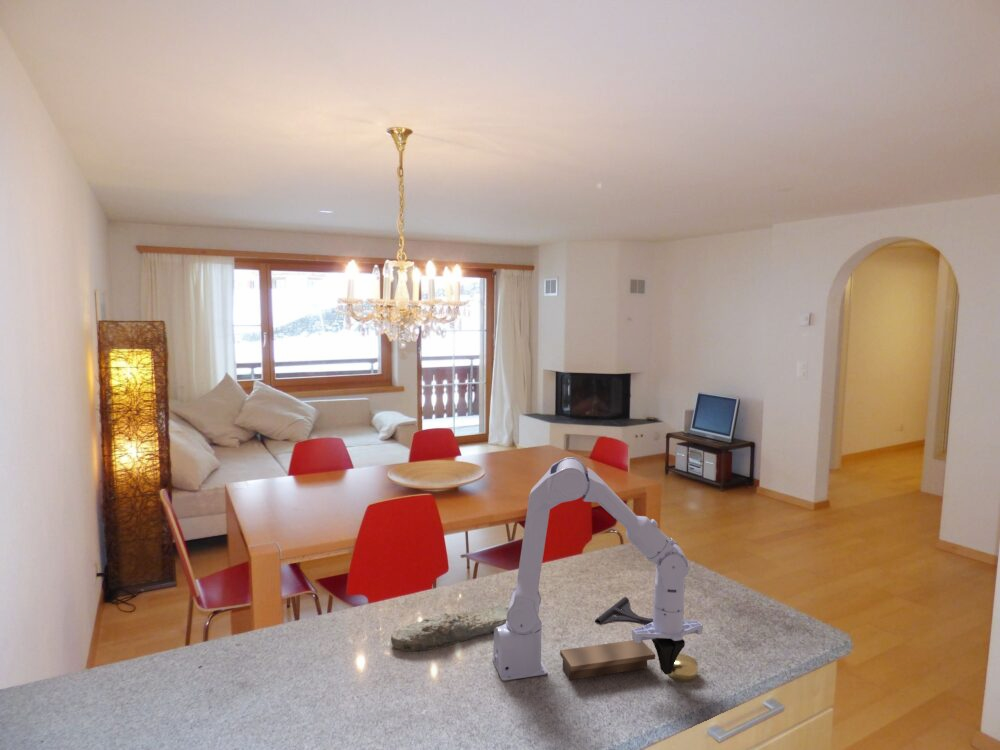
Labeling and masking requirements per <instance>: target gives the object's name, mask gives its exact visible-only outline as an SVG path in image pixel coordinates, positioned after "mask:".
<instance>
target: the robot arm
mask: <svg viewBox="0 0 1000 750" xmlns="http://www.w3.org/2000/svg"><path fill="white" fill-rule="evenodd" d="M580 498H582V501H583V502H587V503H588V502H589V503H592V502H593V503H597V504H599V506H601V508H603V509H604V510H605V511H606V512H607V513H608V514H609V515H611V516H612V517H613V518H614V519H615V520H616V521H618V522H619V524H620V525H622V526H623V527H624V528H625V538H626V539H627V540H628V541H629V542H630V543H631V544H632V545H633V546H634V547H635V548H636V549H637V550H638V551H639V552H640V553H641V554H642V555H643V556H644V557H645V558H647V560H648V561H650V562H652V563H654V564H655V565H656V568H655V579H654V587H653V588H654V590H653V591H654V592H653V610H652V611H653V614H652V619H653V622H651V623H649V624H647V625H646V624H644V625H642V626H640V627H639V626H638V627H637V628H632V629H631V640H634V641H635V642H636V643H641V641H643V642H644V641H650V640H651V641H652V644H653V645H654V648H655V651H656V654H657V658H658V661H659V668H660V670H661V672H663V673H664V675H667V674H671V672H672V669H673V666H674V663H675V661H676V658H677V656H678V654H681V651H682V650H683V649H684V648H685V642H686V641H685V639H683V637H684V636H687V635H692V634H696V635H703V629H704V628H703V626H704V625H703V624H702V623H701V622H700V621H699V620H684V613H685V611H684V609H685V592H686V590H685V589H686V586H685V580H686V577H687V576H688V574H689V573H690V572H689V571H690V567H689V562H688V559H687V558H686V555H685V554H684V551H683V550H682V548H681V547H680V546H679V543H678V542H676V540H674V539H673V538H672V537H668V536H667V535H666V534H665V533H664V532H663V531H662V530H661V529H660V528H659V527H658V526H659V524H658V522H657V521H656V520H655V519H654V518H652V519H650V518H648V516H644V515H637V514H636V513H635V512H634V511H632V509H631V508H630V507H629V506H628V505H627V504H626V503H625V502H624V501H623V500H622V498H620V497H619V496H618V494H617V493H616V492H615V491H613V489H612V488H611V486H609V485H608V484H607V483H606V482H605V481H604V480H603V479H602V478H601V477H600V476H599V475H598V474H597V473H596V472H595V471H594V470H592V469H591V468H589V467H587V468H586V466H585V463H584V462H582V460H580V459H579V458H576V457H572V456H571V457H564V458H562V459H560V460H559V461H556V462H555V463H553V464H552V465H551V466H550V467H549V469H548V471H547V472H545V474H544V475H542V477H541V478H540V479H539V480H538V482H537V483H535V484H534V486H533V487H532V488H531V490H530V492H529V496H528V503H527V508H526V509H527V510H526V516H525V521H524V529H523V530H524V531H523V535H522V536H523V537H522V544H521V549H520V550H521V551H520V558H519V565H518V572H517V580H516V586H515V587H514V588H513V590H512V592H511V595H510V602H509V604H510V606H509V610H508V612H507V621H506V623H505V624H504V625H502V626H499V627H496V628H495V629H494V632H493V652H492V653H493V655H492V662H493V664H494V666H495V668H496V670H497V672H498V674H499V677H500V678H501V680H502V681H503V682H504V681H511V680H517V679H523V678H525V679H526V678H531V677H537V676H538V677H539V676H543V675H544V676H545V675H548V669H547V668H546V666H545V665H544V663H543V661H542V636H543V635H542V633H543V632H542V627H543V625H542V623H543V622H542V620H541V619H540V613H539V612H540V606H541V601H542V597H541V596H542V595H541V593H540V591H539V586H540V578H541V574H542V573H541V572H542V565H543V557H544V552H545V546H546V539H547V531H548V525H549V519H550V512H551V511H550V510H551V509H553V508H554V507H556V506H558V505H560V504H562V503H567V502H572V501H575V500H578V499H580Z"/></svg>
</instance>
